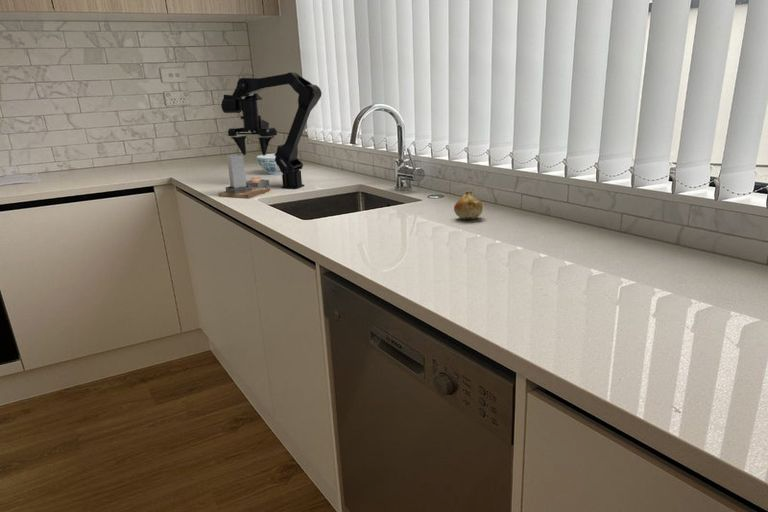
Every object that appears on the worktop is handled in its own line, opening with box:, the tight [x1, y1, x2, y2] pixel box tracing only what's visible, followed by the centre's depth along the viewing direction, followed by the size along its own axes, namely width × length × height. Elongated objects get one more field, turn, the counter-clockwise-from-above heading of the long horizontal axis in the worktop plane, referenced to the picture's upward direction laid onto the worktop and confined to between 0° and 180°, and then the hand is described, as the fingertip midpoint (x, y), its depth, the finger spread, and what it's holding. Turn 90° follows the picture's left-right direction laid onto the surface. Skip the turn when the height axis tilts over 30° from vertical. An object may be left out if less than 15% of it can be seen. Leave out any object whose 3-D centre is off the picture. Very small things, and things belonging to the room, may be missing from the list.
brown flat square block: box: [218, 185, 271, 199], centre depth 207 cm, size 13×13×3 cm
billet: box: [226, 153, 247, 189], centre depth 204 cm, size 4×4×13 cm
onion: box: [453, 189, 483, 220], centre depth 159 cm, size 8×8×8 cm
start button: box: [249, 176, 262, 182], centre depth 219 cm, size 4×4×2 cm
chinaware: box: [256, 153, 283, 176], centre depth 250 cm, size 15×15×8 cm
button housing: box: [246, 178, 270, 188], centre depth 219 cm, size 7×7×2 cm
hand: (254, 155), depth 218 cm, fingers open, 9 cm apart
